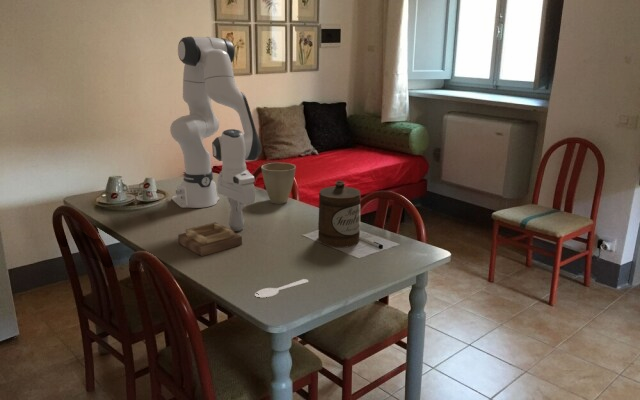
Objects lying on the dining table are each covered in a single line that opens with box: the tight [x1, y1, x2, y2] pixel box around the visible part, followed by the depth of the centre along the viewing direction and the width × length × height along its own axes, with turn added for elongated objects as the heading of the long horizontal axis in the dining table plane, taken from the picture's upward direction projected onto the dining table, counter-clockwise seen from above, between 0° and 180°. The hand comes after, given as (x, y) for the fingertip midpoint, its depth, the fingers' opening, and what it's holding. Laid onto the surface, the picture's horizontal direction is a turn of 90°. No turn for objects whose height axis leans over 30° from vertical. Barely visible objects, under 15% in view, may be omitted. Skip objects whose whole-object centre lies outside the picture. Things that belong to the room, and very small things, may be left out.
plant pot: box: [261, 162, 296, 205], centre depth 231 cm, size 15×15×16 cm
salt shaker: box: [228, 198, 245, 232], centre depth 197 cm, size 6×6×13 cm
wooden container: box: [317, 180, 361, 248], centre depth 186 cm, size 15×15×22 cm
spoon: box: [254, 278, 310, 299], centre depth 153 cm, size 5×18×1 cm, turn 126°
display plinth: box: [177, 221, 243, 257], centre depth 184 cm, size 16×16×5 cm
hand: (236, 210), depth 197 cm, fingers closed on salt shaker, 3 cm apart
